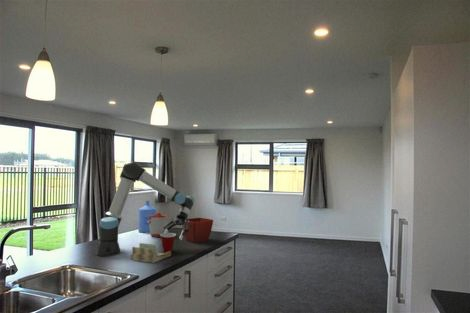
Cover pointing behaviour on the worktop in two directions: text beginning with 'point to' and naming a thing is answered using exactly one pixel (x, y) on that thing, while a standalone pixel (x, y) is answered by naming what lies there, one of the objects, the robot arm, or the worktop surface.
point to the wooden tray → (147, 255)
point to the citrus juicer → (157, 224)
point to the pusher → (150, 246)
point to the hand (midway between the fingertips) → (171, 238)
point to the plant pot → (198, 229)
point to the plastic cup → (167, 241)
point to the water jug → (145, 217)
